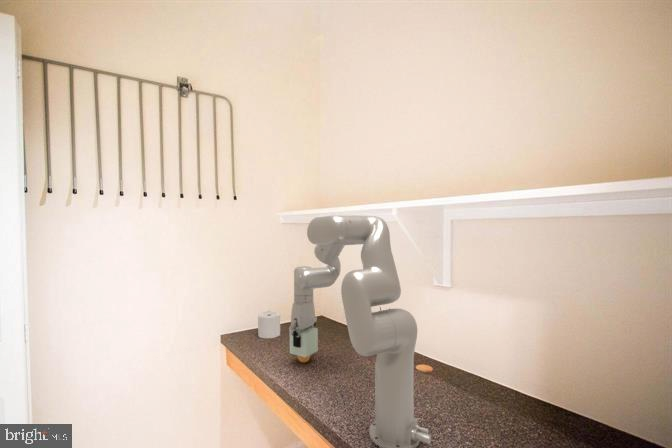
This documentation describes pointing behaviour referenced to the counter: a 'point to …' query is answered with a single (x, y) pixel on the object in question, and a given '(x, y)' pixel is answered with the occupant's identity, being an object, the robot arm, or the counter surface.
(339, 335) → the counter surface
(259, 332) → the toilet tissue
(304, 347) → the pale sage cube
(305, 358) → the ball
